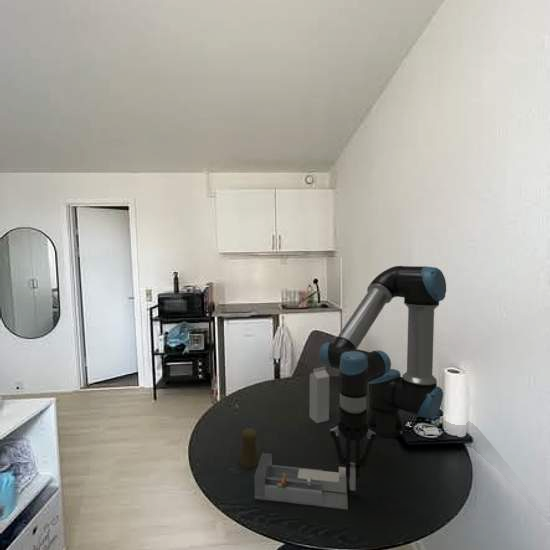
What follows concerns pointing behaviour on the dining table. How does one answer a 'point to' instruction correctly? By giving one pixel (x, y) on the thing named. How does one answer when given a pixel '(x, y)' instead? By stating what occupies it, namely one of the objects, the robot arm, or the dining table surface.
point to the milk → (319, 395)
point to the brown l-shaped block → (283, 480)
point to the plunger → (325, 479)
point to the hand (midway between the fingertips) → (352, 487)
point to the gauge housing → (292, 487)
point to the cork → (249, 449)
